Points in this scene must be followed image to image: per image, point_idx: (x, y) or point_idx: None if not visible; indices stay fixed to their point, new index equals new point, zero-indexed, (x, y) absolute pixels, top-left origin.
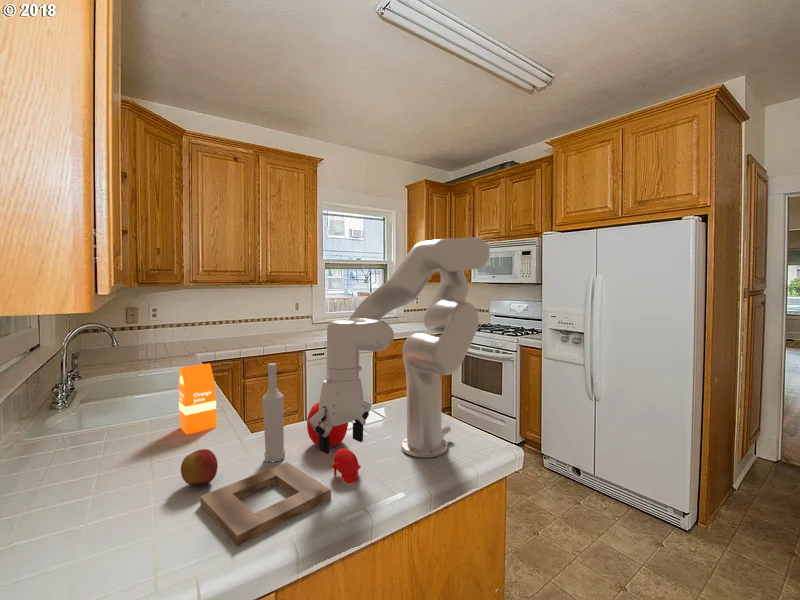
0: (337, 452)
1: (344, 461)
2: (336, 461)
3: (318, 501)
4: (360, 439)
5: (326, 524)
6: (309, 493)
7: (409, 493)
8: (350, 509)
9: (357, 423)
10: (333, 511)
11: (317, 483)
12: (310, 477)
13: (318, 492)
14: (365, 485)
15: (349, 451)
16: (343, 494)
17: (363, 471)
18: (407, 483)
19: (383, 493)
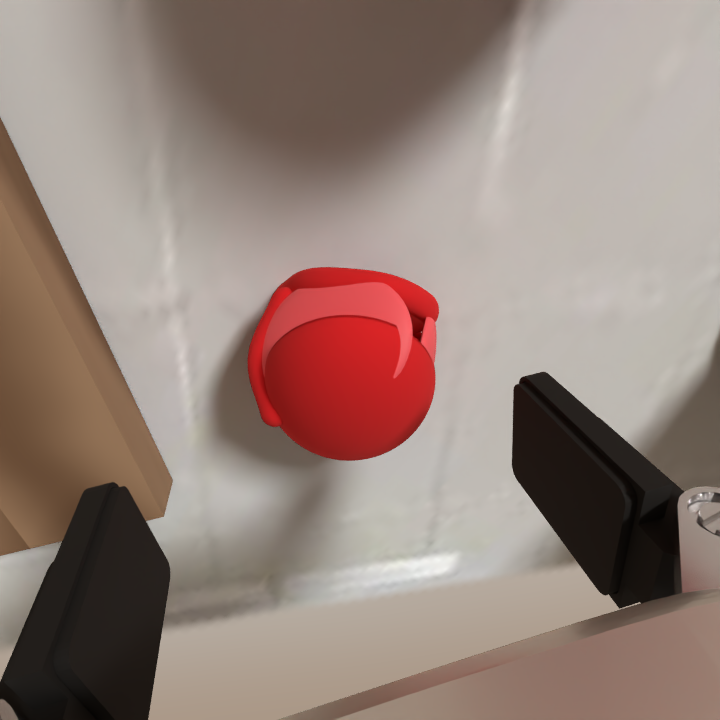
0: (314, 373)
1: (317, 448)
2: (274, 403)
3: None
4: (525, 489)
5: None
6: (31, 505)
7: (469, 569)
8: (223, 568)
9: (641, 568)
10: None
11: (103, 437)
12: (70, 349)
13: None
14: (370, 459)
15: (401, 416)
16: (242, 476)
17: (444, 343)
18: (515, 520)
19: (394, 536)
